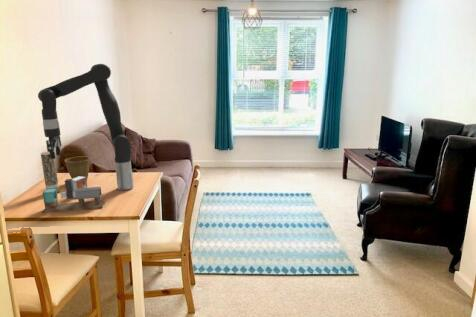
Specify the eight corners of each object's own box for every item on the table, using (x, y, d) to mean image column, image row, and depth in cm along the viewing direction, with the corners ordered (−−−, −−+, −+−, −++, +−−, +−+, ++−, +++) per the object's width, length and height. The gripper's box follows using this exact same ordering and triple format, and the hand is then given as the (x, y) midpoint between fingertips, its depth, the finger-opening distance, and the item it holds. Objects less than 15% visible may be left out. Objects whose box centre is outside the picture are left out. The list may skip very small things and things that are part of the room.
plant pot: (64, 182, 232) (61, 159, 229) (87, 177, 242) (84, 155, 238) (72, 187, 222) (69, 163, 218) (96, 182, 231) (93, 158, 228)
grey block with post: (100, 194, 191) (98, 176, 189) (98, 196, 187) (96, 179, 185) (63, 197, 188) (60, 179, 186) (60, 199, 184) (58, 181, 182)
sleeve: (101, 194, 192) (100, 186, 191) (99, 197, 187) (98, 189, 186) (78, 196, 190) (77, 188, 189) (75, 199, 185) (74, 191, 184)
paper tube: (54, 195, 208) (48, 154, 202) (44, 194, 209) (37, 153, 203) (61, 191, 214) (56, 151, 208) (52, 191, 216) (46, 151, 210)
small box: (78, 198, 202) (76, 180, 200) (70, 197, 204) (68, 179, 202) (88, 193, 210) (86, 176, 207) (81, 192, 212) (79, 176, 209)
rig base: (105, 201, 196) (104, 192, 194) (101, 208, 186) (100, 198, 185) (49, 206, 191) (47, 196, 189) (42, 213, 181) (41, 202, 180)
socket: (57, 198, 188) (56, 188, 187) (54, 202, 183) (52, 192, 182) (47, 199, 188) (46, 189, 186) (44, 202, 182) (42, 192, 181)
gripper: (54, 129, 181) (58, 159, 185) (63, 125, 195) (67, 153, 198) (38, 129, 180) (43, 160, 184) (49, 125, 194) (53, 154, 197)
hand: (56, 157), depth 191 cm, fingers open, 8 cm apart
